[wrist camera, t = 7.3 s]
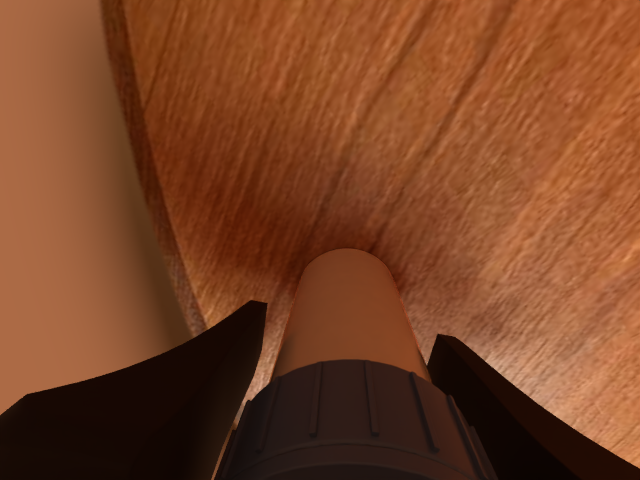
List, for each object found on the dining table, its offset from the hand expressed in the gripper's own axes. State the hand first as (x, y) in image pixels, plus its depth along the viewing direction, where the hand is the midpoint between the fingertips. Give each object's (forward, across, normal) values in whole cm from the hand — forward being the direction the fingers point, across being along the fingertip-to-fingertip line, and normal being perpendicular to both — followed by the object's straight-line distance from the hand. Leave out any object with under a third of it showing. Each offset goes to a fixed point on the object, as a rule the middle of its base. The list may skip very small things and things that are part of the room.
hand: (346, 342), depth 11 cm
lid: (-6, 0, 0) cm, 6 cm away
